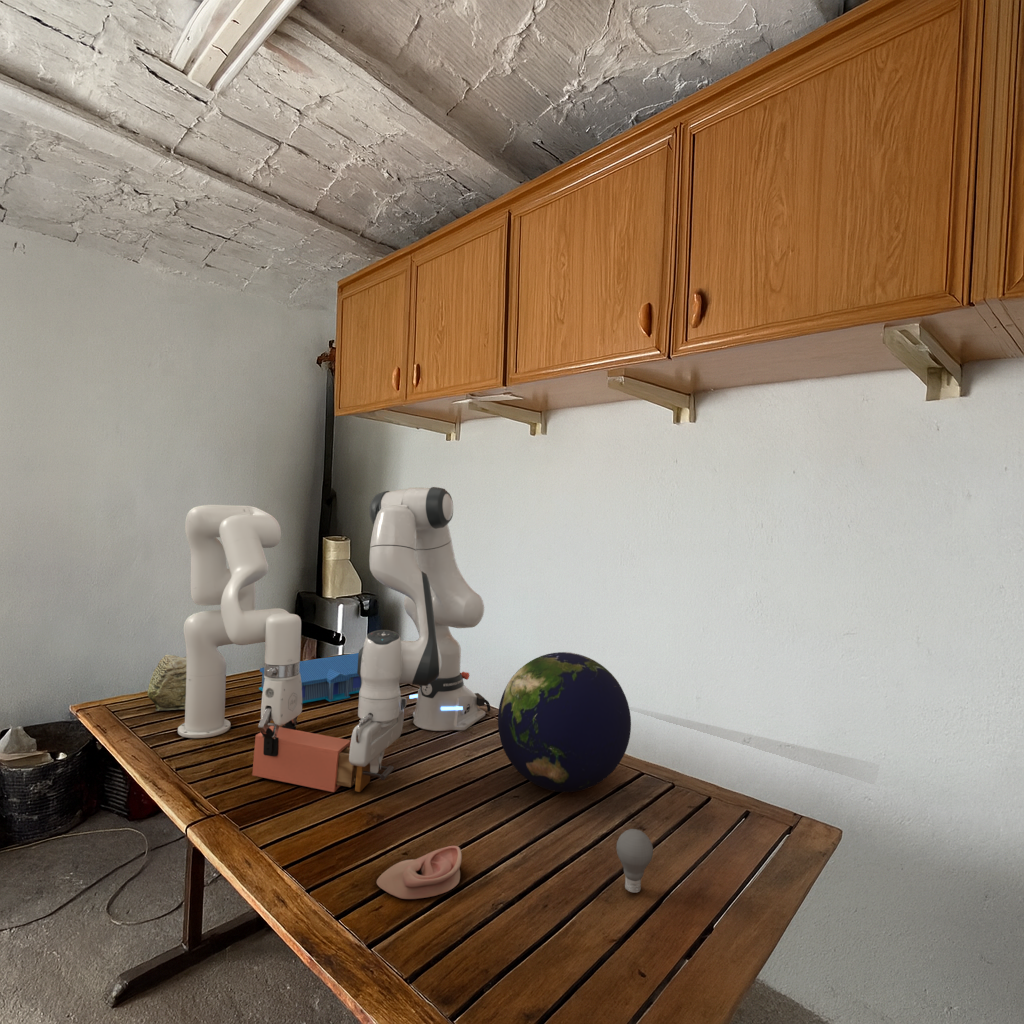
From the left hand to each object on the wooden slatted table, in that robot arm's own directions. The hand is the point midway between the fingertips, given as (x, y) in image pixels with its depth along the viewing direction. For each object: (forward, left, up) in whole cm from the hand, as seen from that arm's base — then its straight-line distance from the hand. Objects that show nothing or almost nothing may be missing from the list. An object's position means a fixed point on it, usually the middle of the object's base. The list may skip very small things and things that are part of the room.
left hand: (279, 748), depth 142 cm
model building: (-58, +31, -6) cm, 66 cm away
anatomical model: (+51, +10, -6) cm, 52 cm away
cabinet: (+4, +4, -6) cm, 8 cm away
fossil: (-60, -12, -6) cm, 61 cm away
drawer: (+10, +10, -6) cm, 15 cm away
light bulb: (+71, +39, -6) cm, 82 cm away
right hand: (+17, +16, -2) cm, 24 cm away
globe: (+35, +53, -6) cm, 64 cm away
